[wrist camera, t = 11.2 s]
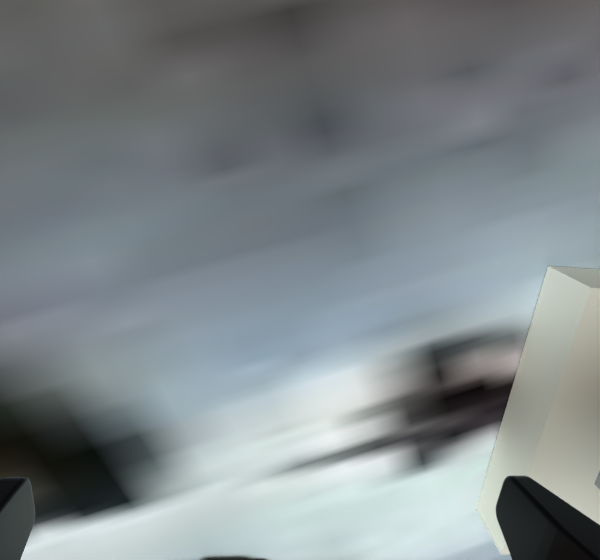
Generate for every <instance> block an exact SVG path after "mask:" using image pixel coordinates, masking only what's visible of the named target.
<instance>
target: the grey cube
mask: <svg viewBox="0 0 600 560" xmlns="http://www.w3.org/2000/svg"><path fill="white" fill-rule="evenodd" d="M594 484H595V485H596V486H597V487H598V488H599V490H600V471H599V473H598V476H597V478H596V481H595V483H594Z"/></svg>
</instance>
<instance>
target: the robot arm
mask: <svg viewBox="0 0 600 560" xmlns="http://www.w3.org/2000/svg"><path fill="white" fill-rule="evenodd" d="M496 517H497V520H498V523H499V526H500V528H501V531H502V534H503V536H504V539H505V542H506V544H507V547H508V550H509V552H510V555H511V557H512V560H600V525H599V524H598V523H596V522H595V521H593V520H592V519H590V518H589V517H587V516H586V515H584V514H583V513H582V512H580V511H579V510H577V509H576V508H574V507H573V506H571V505H570V504H568V503H567V502H565V501H564V500H562V499H561V498H559V497H558V496H557V495H555V494H554V493H552V492H551V491H549V490H548V489H546V488H545V487H543V486H542V485H540V484H539V483H537V482H536V481H535V480H533V479H532V478H530V477H528V476H507V477H506V478H505V479H504V481H503V485H502V488H501V491H500V494H499V497H498V500H497V504H496ZM34 520H35V507H34V500H33V494H32V487H31V482H30V480H29V479H28V478H26V477H4V478H2V479H0V560H20V559H21V556H22V554H23V551H24V548H25V546H26V543H27V540H28V538H29V535H30V533H31V530H32V527H33V524H34Z"/></svg>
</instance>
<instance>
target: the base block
mask: <svg viewBox="0 0 600 560" xmlns="http://www.w3.org/2000/svg"><path fill="white" fill-rule="evenodd" d="M599 471H600V269H589V268H572V267H555V266H548V268H547V271H546V275H545V278H544V281H543V285H542V288H541V291H540V295H539V298H538V302H537V305H536V308H535V312H534V315H533V318H532V322H531V325H530V328H529V332H528V335H527V339H526V342H525V345H524V349H523V352H522V355H521V359H520V362H519V365H518V369H517V372H516V376H515V379H514V382H513V386H512V389H511V392H510V396H509V399H508V402H507V406H506V409H505V413H504V416H503V419H502V423H501V426H500V429H499V433H498V436H497V439H496V443H495V446H494V449H493V453H492V456H491V460H490V463H489V466H488V470H487V473H486V476H485V480H484V483H483V486H482V490H481V493H480V497H479V500H478V503H477V507H476V511H477V513H478V514H479V516H480V518H481V520H482V521H483V523H484V525H485V527H486V529H487V530H488V532H489V534H490V536H491V537H492V539H493V541H494V543H495V545H496V546H497V548H498V550H499V552H500V553H501V554H510V552H509V550H508V547H507V544H506V542H505V539H504V536H503V534H502V531H501V528H500V526H499V523H498V520H497V517H496V504H497V500H498V497H499V494H500V491H501V488H502V485H503V481H504V479H505V478H506V477H507V476H528V477H530V478H532V479H533V480H535V481H536V482H537V483H539V484H540V485H542V486H543V487H545V488H546V489H548V490H549V491H551V492H552V493H554V494H555V495H557V496H558V497H559V498H561V499H562V500H564V501H565V502H567V503H568V504H570V505H571V506H573V507H574V508H576V509H577V510H579V511H580V512H582V513H583V514H584V515H586V516H587V517H589V518H590V519H592V520H593V521H595V522H596V523H598V524H599V525H600V490H599V488H598V487H597V486H596V485H595V484H594V483H595V481H596V478H597V476H598V473H599Z"/></svg>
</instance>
